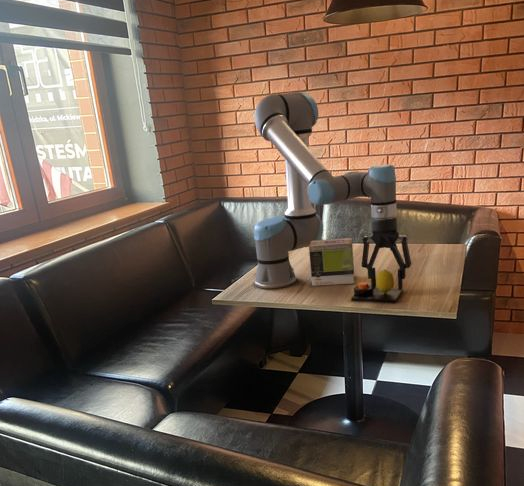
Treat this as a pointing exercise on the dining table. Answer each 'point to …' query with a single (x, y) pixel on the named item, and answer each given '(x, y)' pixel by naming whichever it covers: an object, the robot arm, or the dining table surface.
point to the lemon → (384, 281)
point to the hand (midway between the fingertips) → (387, 288)
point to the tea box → (331, 261)
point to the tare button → (363, 285)
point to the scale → (376, 295)
